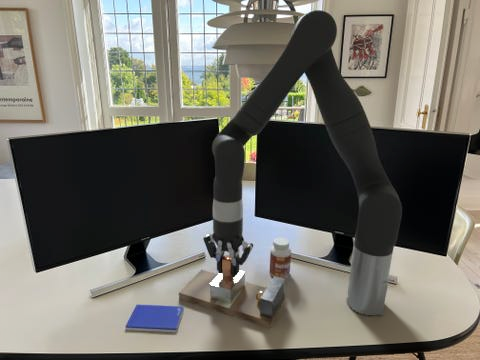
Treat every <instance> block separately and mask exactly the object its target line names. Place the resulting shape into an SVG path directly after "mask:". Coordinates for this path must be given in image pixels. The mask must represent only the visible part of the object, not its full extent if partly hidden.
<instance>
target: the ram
mask: <svg viewBox="0 0 480 360" xmlns="http://www.w3.org/2000/svg"><path fill="white" fill-rule="evenodd" d="M218 274H219V275H218V276H217V277H216V278H215V279H214V280H213V281H212V283H211V284H210V297H211V298H214V299H217V300H221V301H224V302H227V303H230V304H231V303H232V301H233V300H234V298H235V297H236V296H237V294H238V293H239V292H240V290H241V289H242V287H243V286H244V285H245V282H246V272H245V271H243V270H240V269H239V273H238V274H237V276H235V277H232V260H231V258H230V255H229V254H226V255H225V254H224V256H223V257H222V274H220V273H219V272H218Z"/></svg>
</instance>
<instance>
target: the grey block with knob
mask: <svg viewBox="0 0 480 360" xmlns="http://www.w3.org/2000/svg"><path fill="white" fill-rule="evenodd" d="M285 281H286V278H279V277H275V276H274V277H273V276H272V278H271V280H270V282H269V283H268V285H267V287H266V288H267V289H266V290H265V291H258V292H257V294H256V299H257V301H258V302H260V315H261V316H264V317H267V318H270V319H272V317H273V315H274V313H275V311H276V309H277V307H278V305H279V303H280V302H281V300H282V298H283V296H284V293H285V283H286V282H285Z"/></svg>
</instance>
